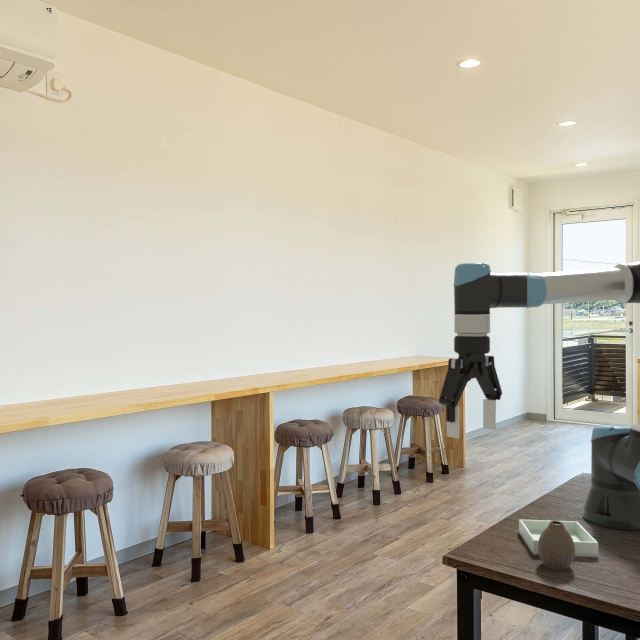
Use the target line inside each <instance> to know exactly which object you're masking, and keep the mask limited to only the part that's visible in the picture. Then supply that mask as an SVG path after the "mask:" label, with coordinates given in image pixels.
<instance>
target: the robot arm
mask: <svg viewBox="0 0 640 640" xmlns="http://www.w3.org/2000/svg"><path fill="white" fill-rule="evenodd" d="M453 278H454V280H453V281H454V282H453V296H454V297H453V298H454V300H453V301H454V324H453V325H454V327H453V328H454V330H453V331H454V333H455V334H456V335H455V337H453V338H454V339H453V350H454V352H455V353H456V354H458V358H449V359H448V363H447V370H446V375H445V378H444V381H443V385H442V387H441V393H440V394H439V398H438V403H439V404H441V406H444V407H445V420H446V437H448V438H453V439H460V435H461V433H460V432H461V431H460V430H461V429H460V428H461V427H460V424H461V422H460V416H461V415H460V414H461V412H460V411H461V410H460V409H461V407H460V406H458V404H459V401H460V399H461V397H462V395H463V393H464V391H465V388H466V387H467V385H468V382H470V381H471V380H472V379H475V381H477V383H478V385H479V387H480V389H481V392H482V393H483V395H484V397H485V398H483V399H482V419H483V420H482V425H483V426H482V428H483V429H487V430H491V431H492V430H493V431H495V430H496V427H497V425H496V424H497V423H496V421H497V419H496V417H497V415H496V412H497V410H496V409H497V400H498V401H500V400H501V399H502V397H501V396H502V395H503V391H502V387H501V384H500V380H499V377H498V373H497V369H496V365H495V356H494V355H486V354H489V353H490V352H491V337H490V336H489V335H488V334H490V333H491V317H490V316H491V309H498V308H502V309H504V308H527V309H529V308H539V307H542V306H543V305H552V304H553V305H554V304H567V303H569V304H570V303H583V302H585V303H586V302H599V301H600V302H601V301H612V300H613V301H616V302H617V303H619V304H640V261H633V262H627V263H618V264H616V265H615V266H614V267H613V268H603V269H601V268H600V269H587V270H571V271H570V270H569V271H568V270H567V271H556V272H555V271H554V272H543V273H542V272H539V273H535V272H528V271H527V272H499V273H498V272H492V271H491V266H490V263H486V262H482V263H481V262H468V263H467V262H466V263H460V264H457V266H455V268H454V277H453ZM590 443H591V460H590V461H591V462H590V463H591V466H590V467H591V473H590V474H591V476H590V477H591V478H590V479H591V481H590V483H591V485H590V488H589V490H588V492H587V496H586V498H585V499H584V500H585V501H584V504H583V507H582V516H583V518H584V519H585V520H587V522H588V521H589V522H591V523H593V524H596V525H597V526H598V525H599V526H602V527H606V528H610V529H611V528H612V529H616V530H625V531H627V530H628V531H640V419H639V420H638V421H637V422H636V423H634V424H633V425H619V424H617V425H615V424H614V425H608V424H607V425H596V426H595V427H593V429H592V433H591V439H590Z"/></svg>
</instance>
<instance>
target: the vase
mask: <svg viewBox="0 0 640 640" xmlns="http://www.w3.org/2000/svg"><path fill="white" fill-rule="evenodd" d="M550 521H551V522H550V523H549V525H548V527H547V528H546V529H545V530H544V531H543V532H542V534H541V535H540V538H539V541H538V553H539V555H538V556H539V559H540V560H541V562H542V563H543V565H544V566H545V567H547V568H548V569H551V570H554V571H565V570H567V569H569V567H571V566H572V564H573V562H574V560H575V557H576V556H575V546H574V542H573V539H572V537H571V536H570V534H569V533H568V531H567V530H566V529H565V527H564V525H563V523H562V522H560V521H561V520H550Z"/></svg>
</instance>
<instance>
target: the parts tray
mask: <svg viewBox="0 0 640 640" xmlns="http://www.w3.org/2000/svg"><path fill="white" fill-rule="evenodd" d="M551 521H552V520H548V519H547V520H544V519H542V520H541V519H518V533H519V536H521V538H522V540H523V541H524V543H525V544H526V546H527V547H528V549H529V551H530V552H531V553H532V555H534V556H539V553H538V541H539V538H540V535H541V534H542V532H543V531H544V530H545V529H546V528H547V527H548V525H549V523H550V522H551ZM559 521H560V522H562V523H563V525H564V527H565V529H566V530H567V531H568V533H569V534H570V536H571V537H572V539H573V542H574V546H575V557H583V558H599V542H598V540H596V539H595V538H594V537H593V536H592V535H591V534H590V533H589V532H588V531H587V530H586V529H585V528H584V527H583V526H582V525H581V524H580V523H579V521H571V520H559Z"/></svg>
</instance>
